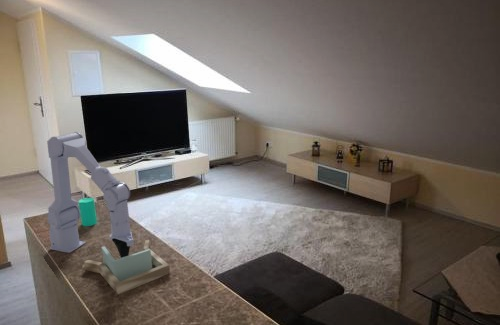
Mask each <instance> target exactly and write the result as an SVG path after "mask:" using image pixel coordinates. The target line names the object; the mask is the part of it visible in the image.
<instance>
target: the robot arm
mask: <svg viewBox="0 0 500 325" xmlns="http://www.w3.org/2000/svg"><path fill="white" fill-rule="evenodd" d="M46 144H47V151H48V152H47V153H48V158H49V159H50V166H51V167H50V168H51V175H52V176H51V177H52V186H53V194H54V201H53V202H52V203H51V204H50V206H48V207H47V211H48V213H47V218H46V219H47V222H48V224H49V226H50V227H49V231H48V235H49V240H50V244H51V245H50V246H51V247H49V249H50V250H53V251H57V252H62V253H63V252H64V253H68V254H70V253H72V252H74V251H75V250H76V249H79V248H80V247H81V246H84V245H85V244H86V241H83V240H80V236H79V231H78V230H79V229H78V223H79V219H81V216H80V215H81V212H80V209H79V203H78V202H79V201H77V200H75V199H73V198H72V190H71V177H70V170H69V159H68V158H76V160H78V161H79V162H80V163H81V165H82V166H83V167H84V168H85V169H87V170H88V172H90V174H91V175H90V179H91V180H92V181H93V183H94V184H95V185H96V186H97V188H99V189H100V191H101V192H102V193H103V195H102V197H103V200H104V202H105V204H106V207H107V210H108V211H109V218H110V224H111V226H110V232H111V234H109V235H108V238H109V239H111V241H112V242H113V243H114V245H115V246H116V248H117V252H118V255H119V257H120V258H123V257H126V256H129V255H130V248H131V246H134V245H135V243H134V242H135V240H134V238H133V234H132V230H131V222H130V214H129V206H128V199H129V198H130V197H131V190H130V187H129V186H128V185H127V183H125V182H122V181H121V180H118V179H116V177H115V176H114V175H113V173H111V171H110V170H109V169H108V168H107V167H105V166H101V164H99V163H98V161H97V160H96V158H95V157H94V155H93V154H92V153H91V151H90V150H89V149H88V147H87V139H85V137H84V136H83V135H82V133H80V132H78V131H74V132H71V133H66V134H62V135H57V136H51V137H50V138H49V139H48V140H47V143H46Z"/></svg>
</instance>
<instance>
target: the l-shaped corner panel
mask: <svg viewBox="0 0 500 325" xmlns="http://www.w3.org/2000/svg"><path fill="white" fill-rule="evenodd" d="M100 248H101V253H102V254H101V255H102V263H104V264H105V266H106V267H107V268H108V269H109V270H110V271H111V272H112V273H113V274H114V276H115V277H116V278H117V279H118V280H119V281H123V280H125V279H128V278H130V277H133V276H135V275H138V274H141V273H143V272H146V271H148V270H151V269H153V263H152V261H151V251H150V250H151V248H150V249H147V250H144V249H143V250H141V251H138V252H136V253H132V254H129V255H128V256H126V257H123V258H121V257H120V258H117V259H115V258H114V257H113V255H112V254H111V253H110V251H109V249H107V247H106V246H105V245H104V246H101V247H100Z"/></svg>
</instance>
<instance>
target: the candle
mask: <svg viewBox="0 0 500 325" xmlns="http://www.w3.org/2000/svg"><path fill="white" fill-rule="evenodd" d="M77 202H78V207H79V209H80V212H81V215H80V220H81V225H82V226H83V227H91V226H93V225H94V226H95V225H96V224H97V223H98V218H97V213H96V206H95V204H96V203H95V199H94V198H93V197H84V198H81V199H79V200H78V201H77Z"/></svg>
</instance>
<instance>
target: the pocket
mask: <svg viewBox="0 0 500 325" xmlns="http://www.w3.org/2000/svg"><path fill="white" fill-rule="evenodd" d="M150 243H151V242H150V239H146V240H144V245H143V251H144V250H147V249H150V251H151V261H152V265H154V268H153V267H152V269H151V270H148V271H146V272H143V273H141V274H138V275H135V276H133V277H130V278H128V279H125V280H123V281H119V280H118V279H117V278H116V277H115V276H114V274H113V273H112V272H111V271H110V270H109V269H108V268H107V267H106V266H105V264H104V263H103V262H101V261H97V260H91V259H87V260H85V261H84V268H85V271H89V272H92V273H93V272H94V273H98V274H99V275H101V276H102V278H104V280H105V281H106V282H107V283H108V284H109V286H110V287H111V288H112V289H113V291H114V292H115V293H116V294H117V295H121V294H123V293H126V292H128V291H130V290H133V289H135V288H138V287H141V286H143V285H145V284H148V283H149V282H152V281H156V280H157V279H159V278H162V277H164V276H166V275H169V274H171V272H170V271H171V270H170V264H169V263H168V262H166V261H165V260H164V259H163V258H161V257H160V256H159V255H158V254H156V253H155V252H154V251H153V250H151V244H150Z"/></svg>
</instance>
